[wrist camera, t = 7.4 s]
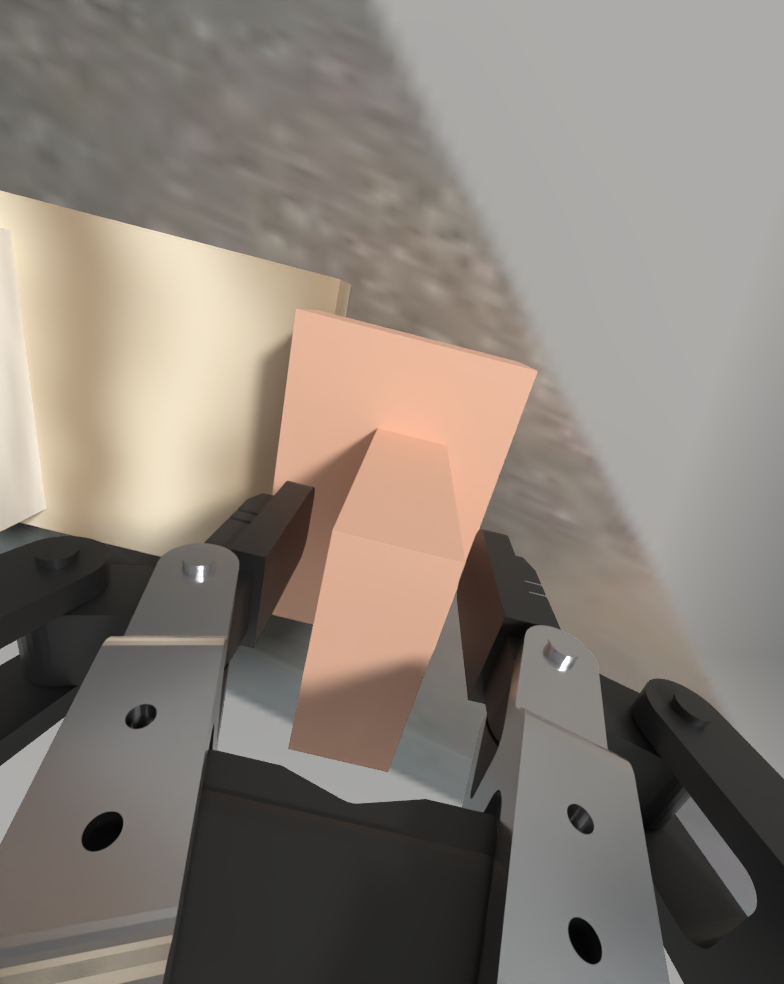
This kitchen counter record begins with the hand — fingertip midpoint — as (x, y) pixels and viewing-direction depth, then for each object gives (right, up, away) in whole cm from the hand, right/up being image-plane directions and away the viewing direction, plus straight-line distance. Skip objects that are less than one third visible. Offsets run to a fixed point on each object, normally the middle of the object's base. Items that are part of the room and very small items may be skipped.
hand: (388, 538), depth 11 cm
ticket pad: (-11, +5, +6) cm, 14 cm away
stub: (0, +2, +4) cm, 4 cm away
